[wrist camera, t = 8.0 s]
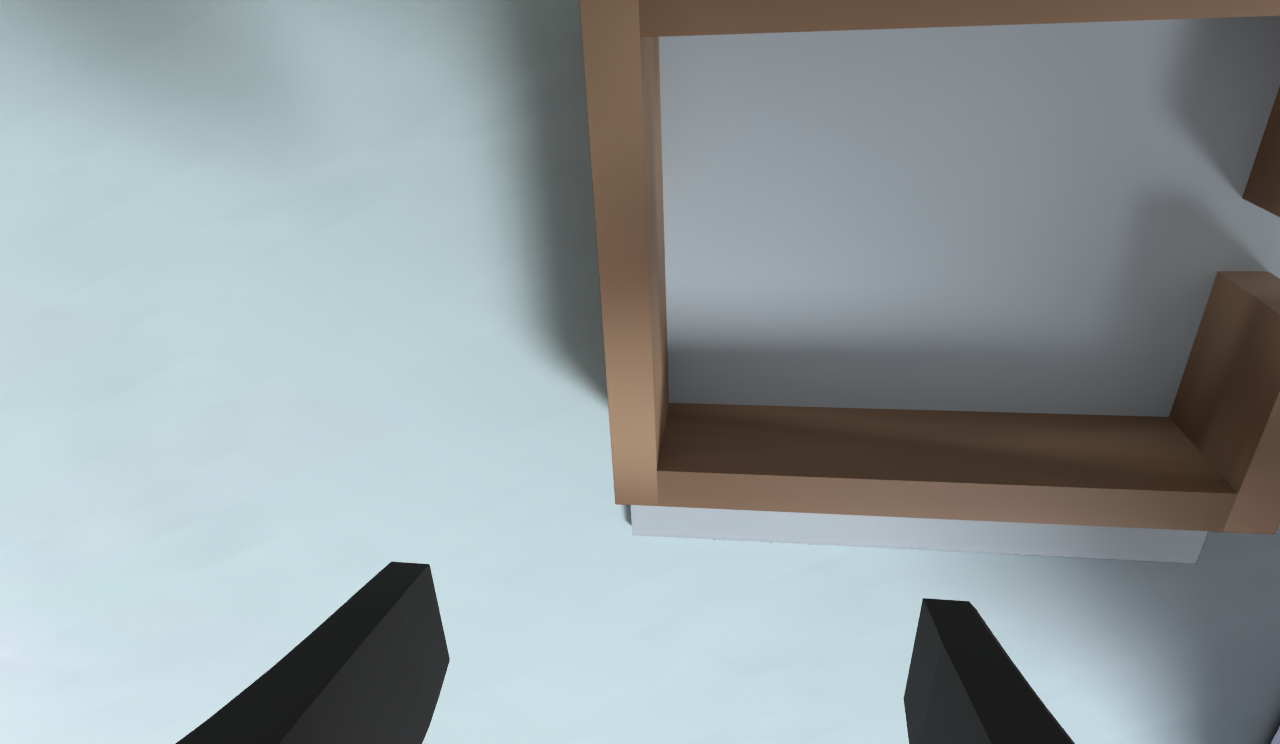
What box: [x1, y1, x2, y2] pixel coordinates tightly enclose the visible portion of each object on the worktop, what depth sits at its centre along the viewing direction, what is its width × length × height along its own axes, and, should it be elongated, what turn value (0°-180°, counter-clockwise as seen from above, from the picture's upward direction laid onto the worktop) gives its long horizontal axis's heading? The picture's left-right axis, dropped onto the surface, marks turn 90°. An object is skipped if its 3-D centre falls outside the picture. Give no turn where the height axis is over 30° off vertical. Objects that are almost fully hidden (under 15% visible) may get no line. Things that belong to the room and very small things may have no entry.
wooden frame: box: [579, 0, 1280, 534], centre depth 16 cm, size 11×14×3 cm
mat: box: [631, 16, 1280, 564], centre depth 17 cm, size 18×15×1 cm
